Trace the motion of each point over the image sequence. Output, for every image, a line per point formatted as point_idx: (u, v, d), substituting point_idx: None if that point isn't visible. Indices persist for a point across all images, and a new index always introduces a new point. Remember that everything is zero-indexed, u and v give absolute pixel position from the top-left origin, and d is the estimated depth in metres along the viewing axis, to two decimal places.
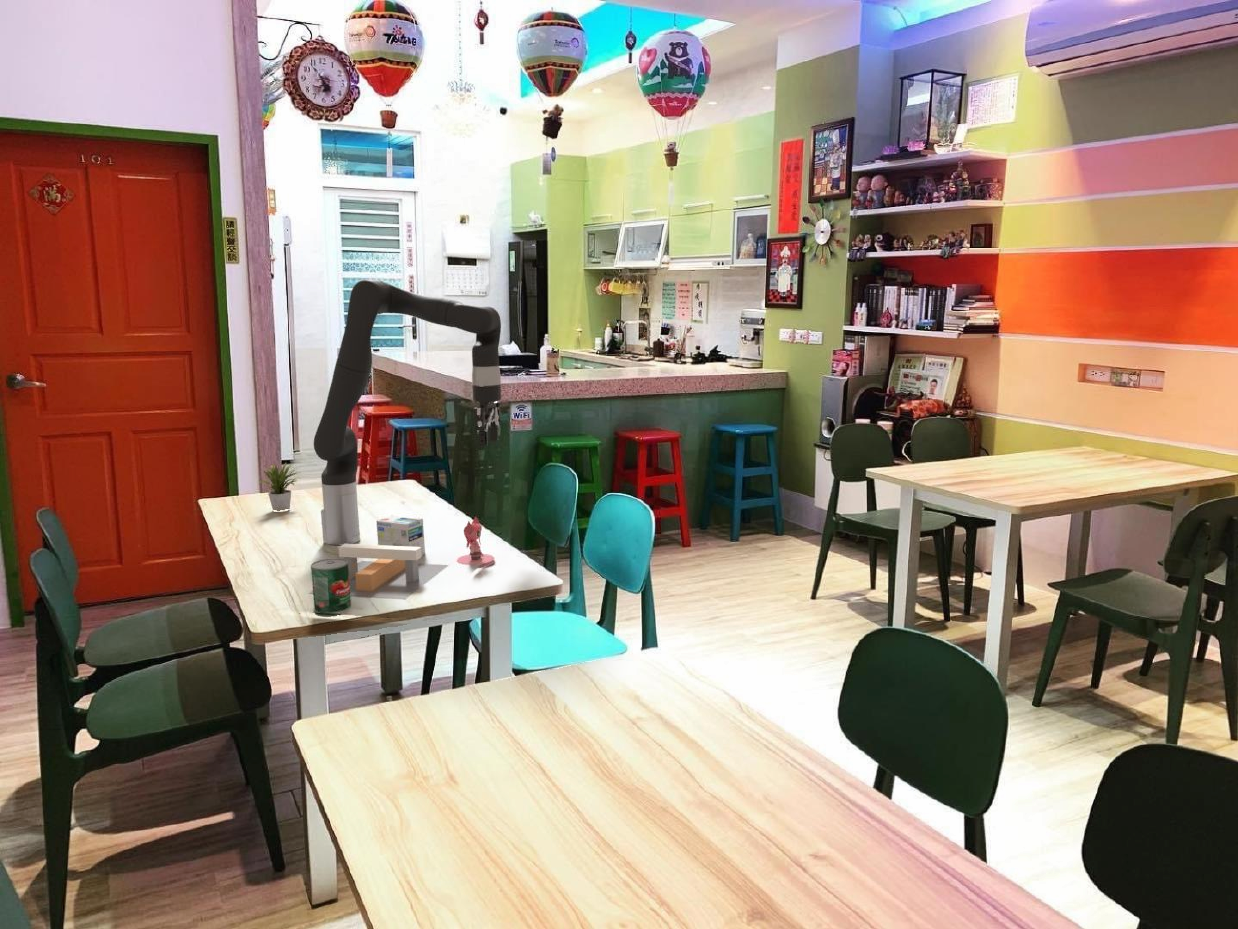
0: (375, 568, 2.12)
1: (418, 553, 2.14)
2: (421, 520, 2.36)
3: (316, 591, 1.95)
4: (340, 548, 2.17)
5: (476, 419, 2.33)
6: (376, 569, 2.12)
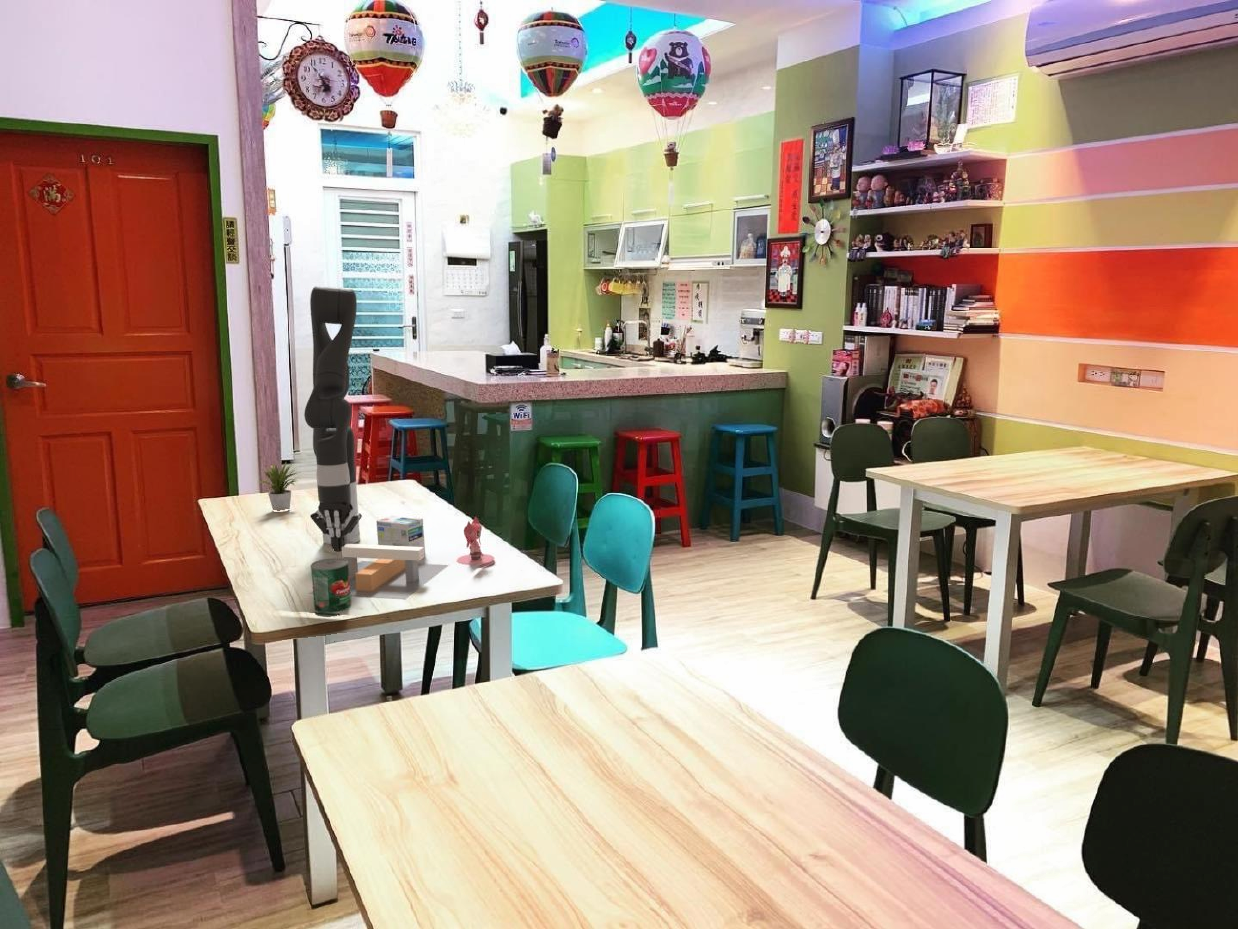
0: (375, 568, 2.12)
1: (421, 553, 2.14)
2: (421, 520, 2.36)
3: (316, 591, 1.95)
4: (343, 548, 2.17)
5: (352, 526, 2.16)
6: (376, 569, 2.12)
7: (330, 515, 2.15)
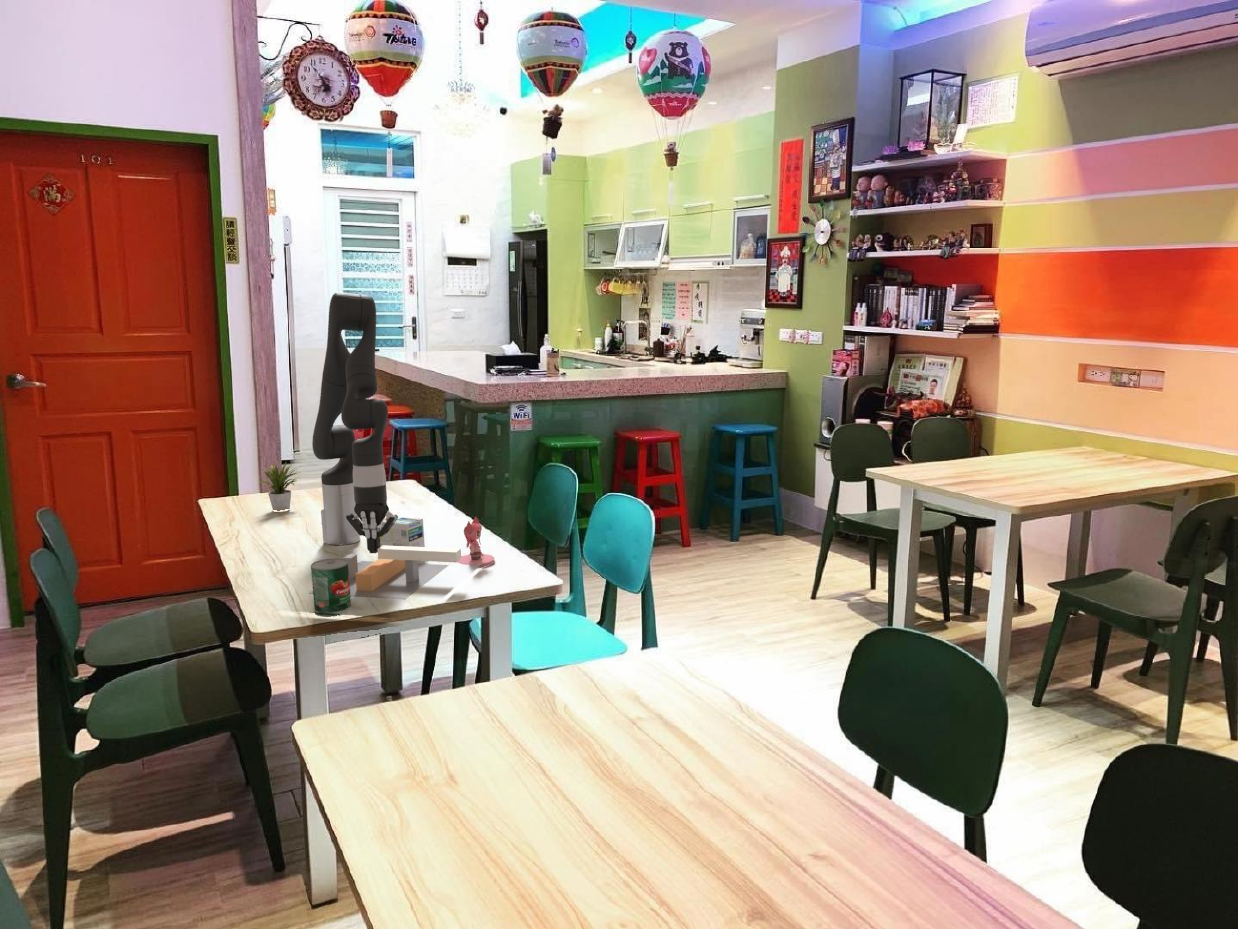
0: (375, 568, 2.12)
1: (458, 555, 2.12)
2: (421, 520, 2.36)
3: (316, 591, 1.95)
4: (379, 550, 2.15)
5: (388, 528, 2.14)
6: (376, 569, 2.12)
7: (366, 516, 2.14)
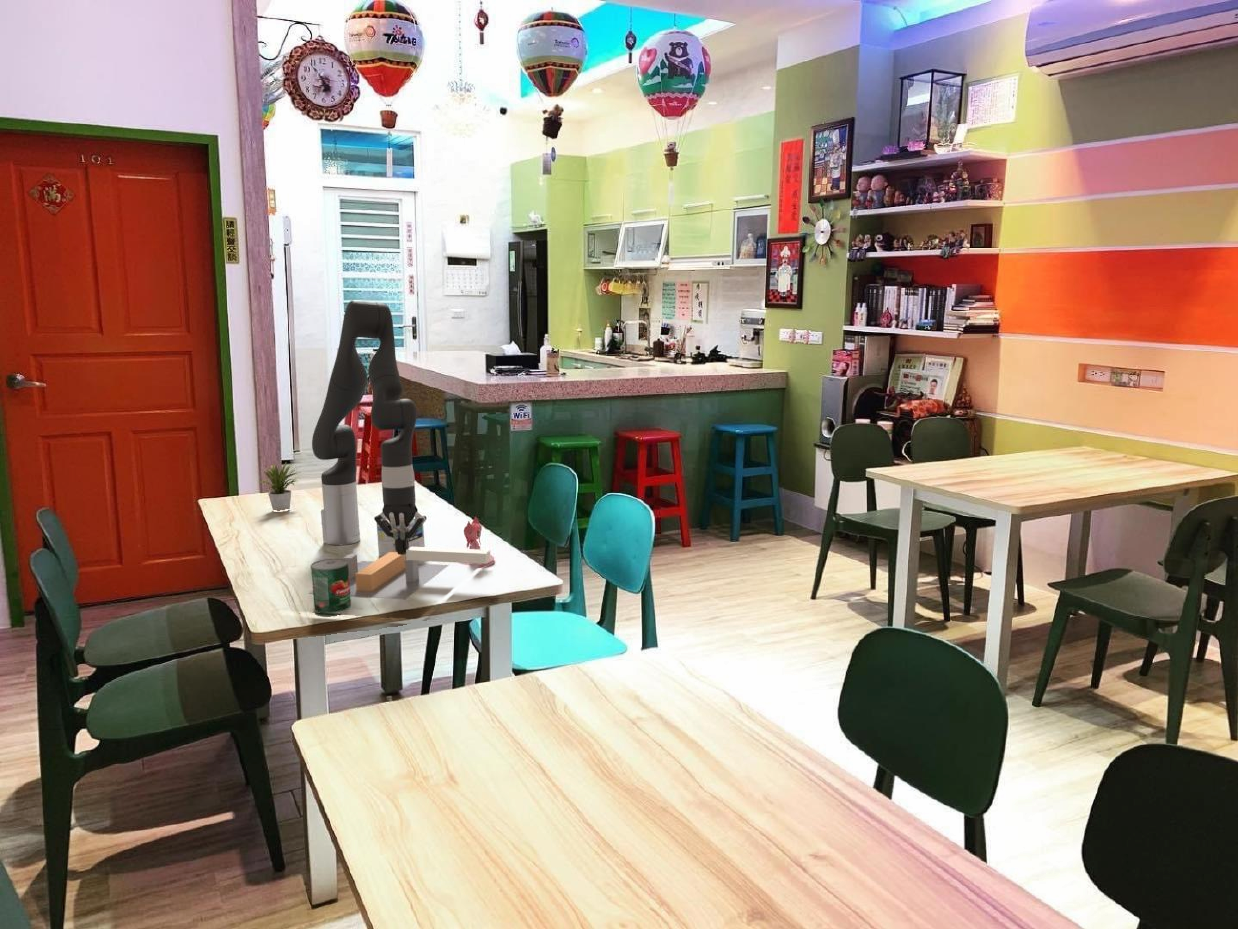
0: (375, 568, 2.12)
1: (487, 556, 2.11)
2: None
3: (316, 591, 1.95)
4: (407, 551, 2.13)
5: (417, 529, 2.12)
6: (376, 569, 2.12)
7: (395, 517, 2.12)
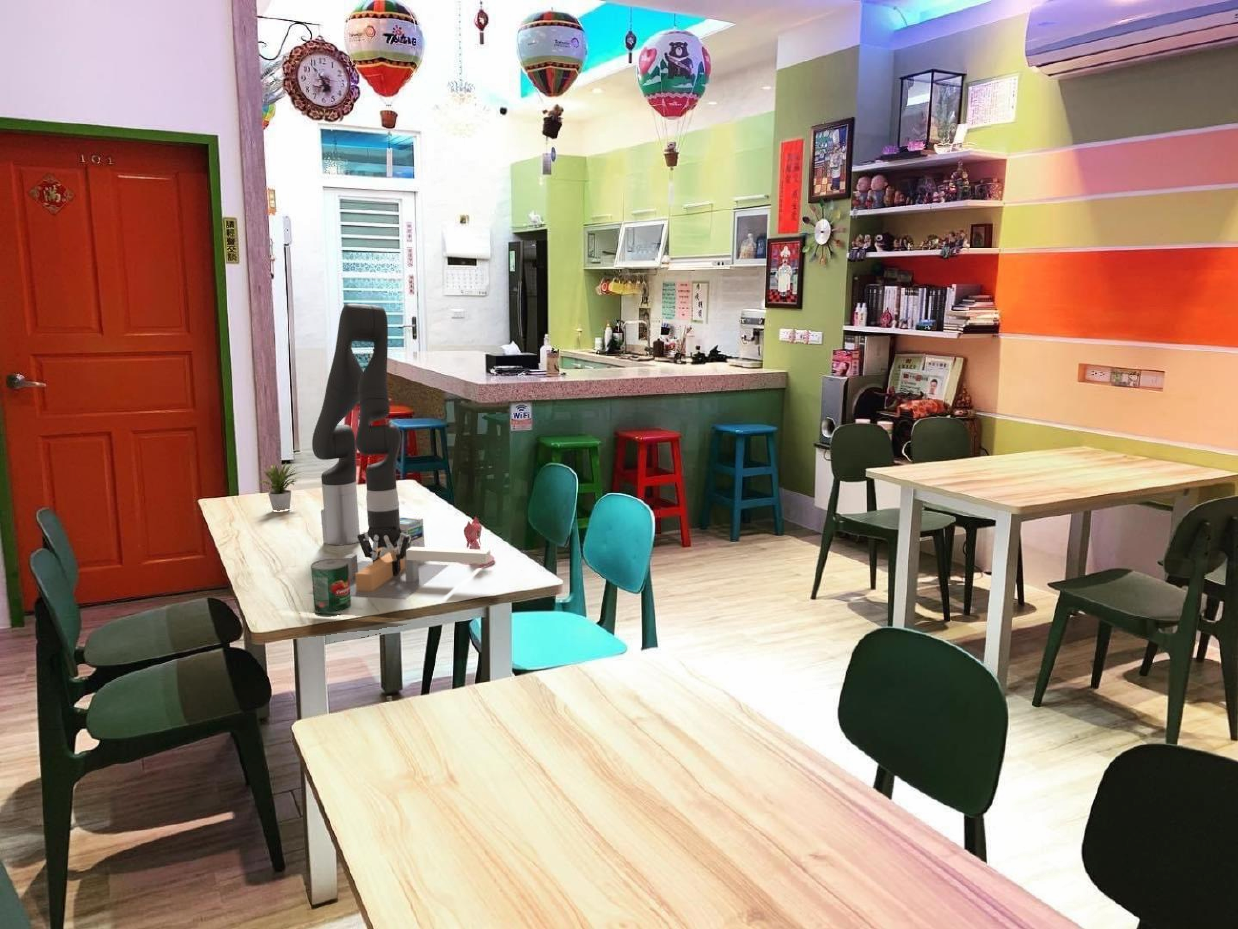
0: (375, 568, 2.12)
1: (487, 556, 2.11)
2: (421, 520, 2.36)
3: (316, 591, 1.95)
4: (407, 551, 2.13)
5: (406, 548, 2.18)
6: (376, 569, 2.12)
7: (378, 540, 2.18)
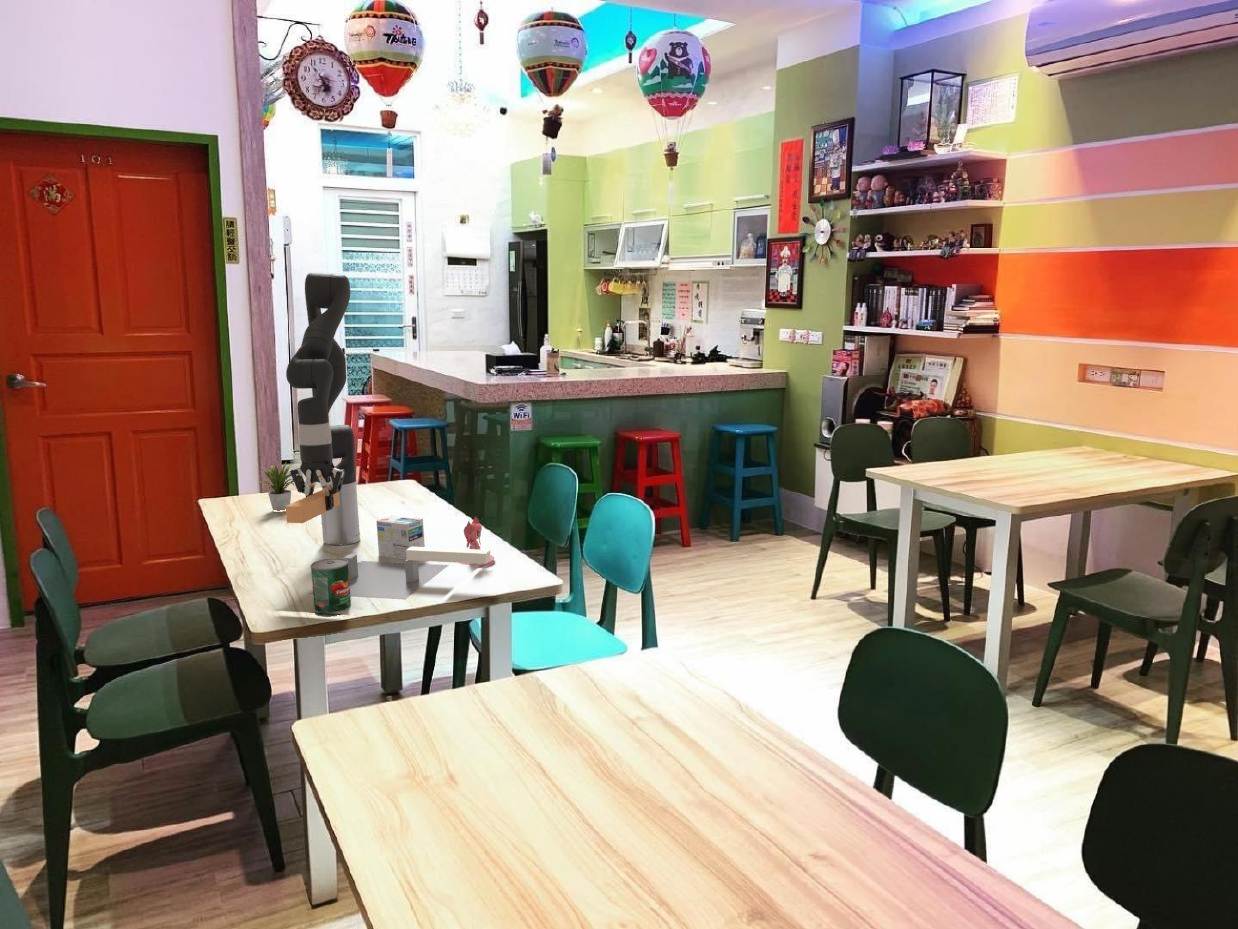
0: (306, 502, 2.13)
1: (487, 556, 2.11)
2: (421, 520, 2.36)
3: (316, 591, 1.95)
4: (407, 551, 2.13)
5: (339, 483, 2.18)
6: (307, 502, 2.12)
7: (311, 475, 2.18)
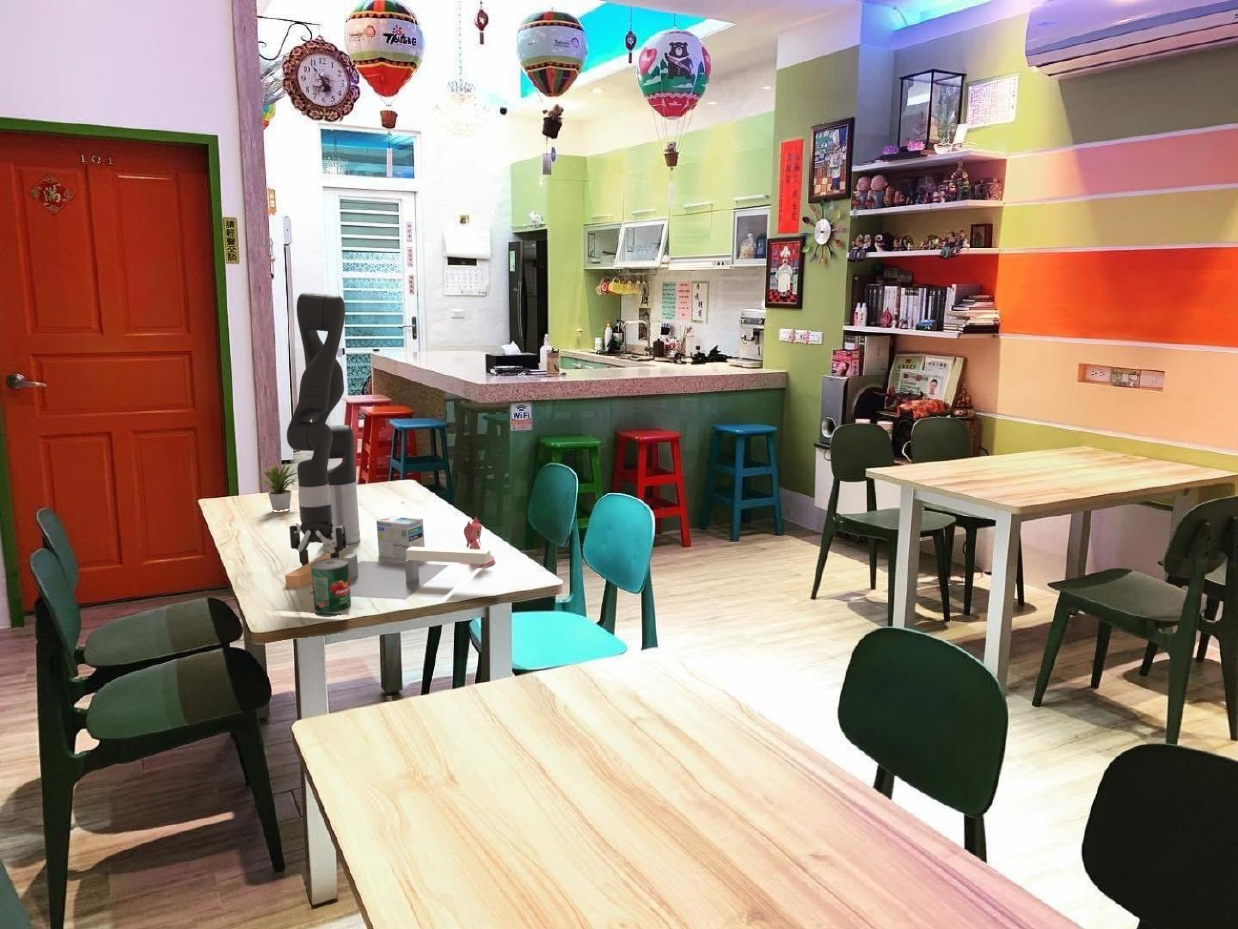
0: (306, 570, 2.16)
1: (487, 556, 2.11)
2: (421, 520, 2.36)
3: (316, 591, 1.95)
4: (407, 551, 2.13)
5: (341, 539, 2.21)
6: (306, 571, 2.16)
7: (309, 536, 2.21)
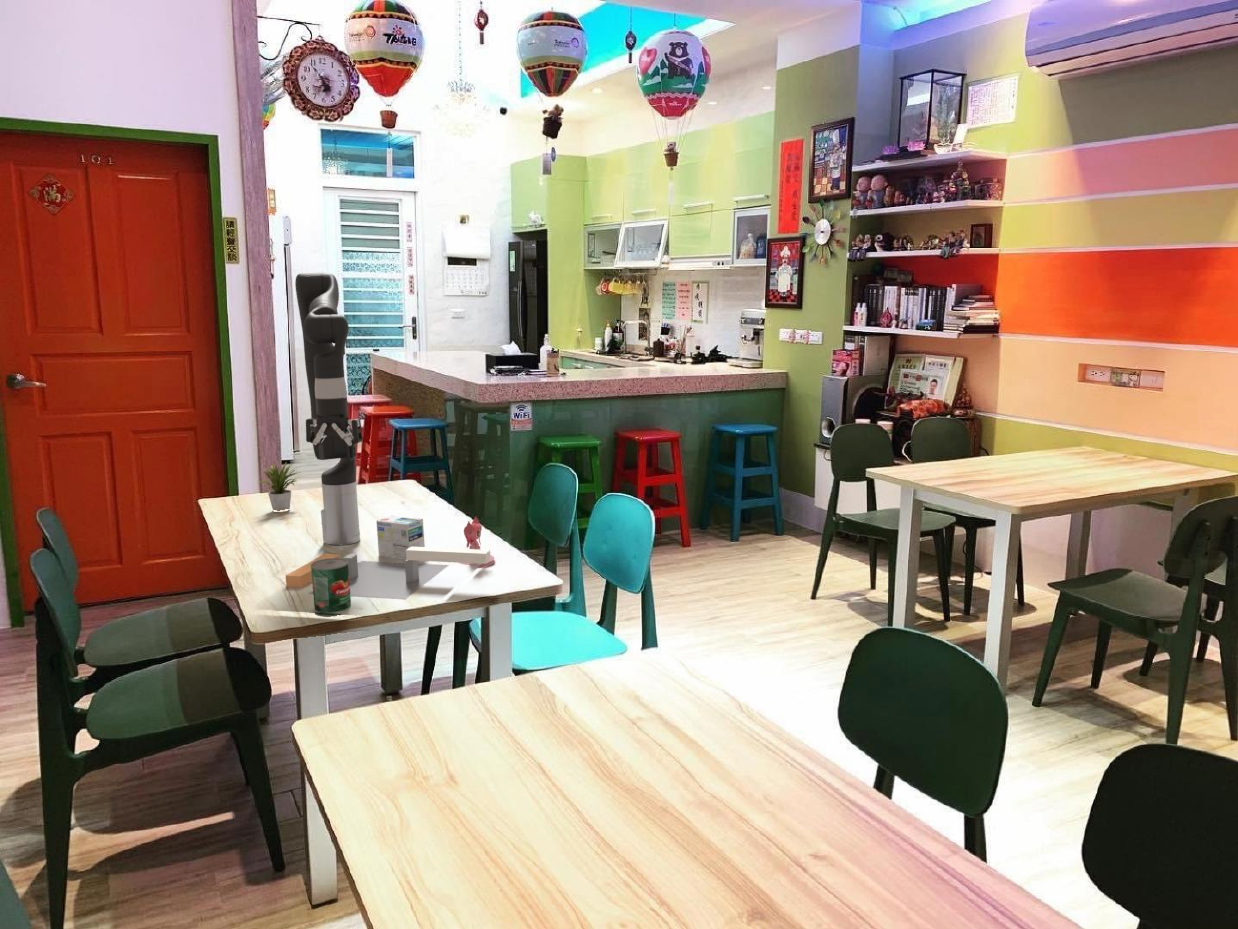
0: (306, 570, 2.16)
1: (487, 556, 2.11)
2: (421, 520, 2.36)
3: (316, 591, 1.95)
4: (407, 551, 2.13)
5: (358, 431, 2.23)
6: (307, 571, 2.16)
7: (325, 429, 2.24)
